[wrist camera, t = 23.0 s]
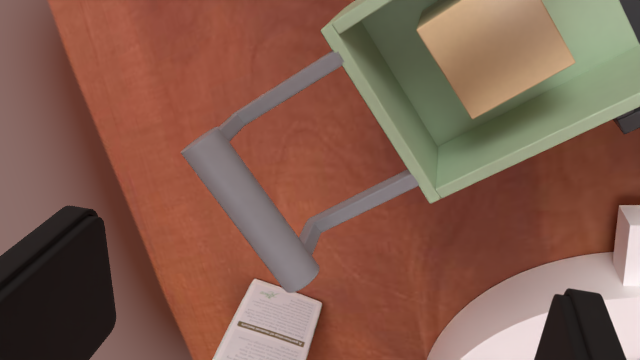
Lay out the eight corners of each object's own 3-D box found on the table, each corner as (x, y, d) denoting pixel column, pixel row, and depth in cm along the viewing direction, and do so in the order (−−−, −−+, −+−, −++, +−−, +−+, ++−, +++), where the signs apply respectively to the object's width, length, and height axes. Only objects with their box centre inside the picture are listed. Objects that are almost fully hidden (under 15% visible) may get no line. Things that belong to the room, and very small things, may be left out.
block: (421, 11, 24) (415, 29, 20) (509, -48, 22) (520, -39, 19) (469, 89, 25) (472, 120, 21) (558, 39, 23) (576, 63, 20)
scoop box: (334, 204, 29) (291, 312, 22) (244, 74, 27) (161, 141, 19) (640, 51, 23) (734, 124, 15) (554, -132, 21) (611, -154, 13)
